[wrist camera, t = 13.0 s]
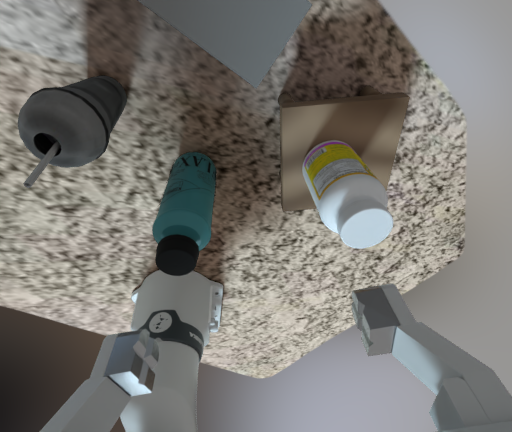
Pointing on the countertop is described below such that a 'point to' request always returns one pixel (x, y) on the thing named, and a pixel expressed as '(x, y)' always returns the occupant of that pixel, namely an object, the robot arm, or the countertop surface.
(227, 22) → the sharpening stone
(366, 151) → the walnut stool
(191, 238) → the beverage bottle
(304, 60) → the countertop surface
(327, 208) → the supplement bottle
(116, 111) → the beverage cup
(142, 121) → the countertop surface
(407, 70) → the countertop surface
